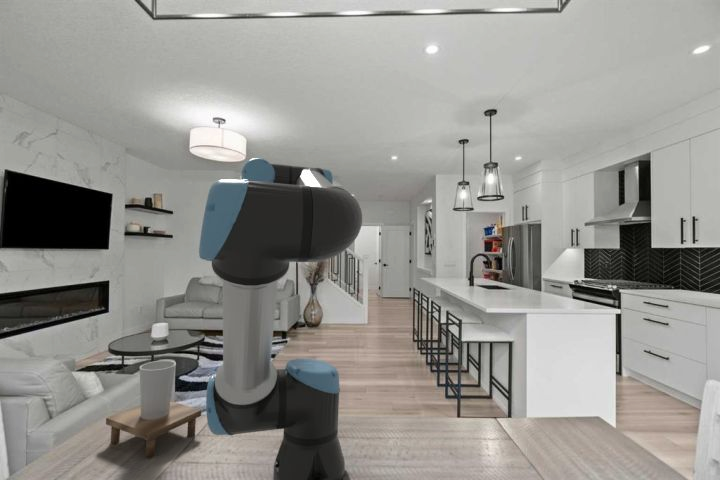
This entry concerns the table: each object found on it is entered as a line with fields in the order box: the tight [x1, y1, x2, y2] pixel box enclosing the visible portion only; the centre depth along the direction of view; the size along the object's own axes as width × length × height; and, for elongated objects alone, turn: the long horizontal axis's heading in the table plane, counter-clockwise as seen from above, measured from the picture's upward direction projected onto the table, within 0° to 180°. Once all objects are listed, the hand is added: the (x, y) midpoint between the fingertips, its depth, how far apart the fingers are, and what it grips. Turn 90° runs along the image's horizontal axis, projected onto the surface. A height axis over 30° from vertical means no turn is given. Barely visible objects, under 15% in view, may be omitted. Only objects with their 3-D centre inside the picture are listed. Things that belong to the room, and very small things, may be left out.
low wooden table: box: [105, 400, 202, 459], centre depth 89 cm, size 16×14×6 cm
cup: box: [139, 360, 177, 420], centre depth 89 cm, size 8×8×12 cm
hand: (252, 298), depth 96 cm, fingers open, 13 cm apart
